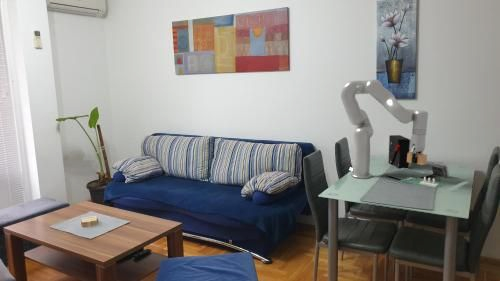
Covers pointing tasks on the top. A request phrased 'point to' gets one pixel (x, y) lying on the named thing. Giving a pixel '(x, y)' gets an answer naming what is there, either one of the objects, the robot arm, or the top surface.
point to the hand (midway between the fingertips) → (416, 162)
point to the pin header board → (425, 182)
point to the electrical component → (399, 151)
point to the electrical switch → (440, 169)
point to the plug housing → (420, 160)
